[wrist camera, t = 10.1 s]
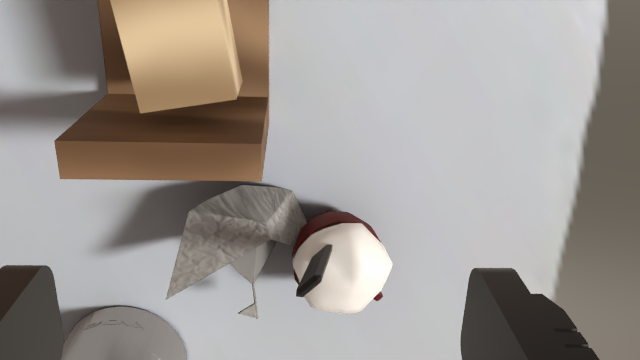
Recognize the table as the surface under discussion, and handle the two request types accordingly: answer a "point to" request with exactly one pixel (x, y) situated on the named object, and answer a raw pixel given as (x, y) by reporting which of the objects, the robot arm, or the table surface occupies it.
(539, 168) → the table surface
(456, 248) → the table surface
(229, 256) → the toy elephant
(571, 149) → the table surface
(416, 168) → the table surface
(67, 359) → the robot arm
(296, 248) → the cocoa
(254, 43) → the peg rack
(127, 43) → the shelf board
